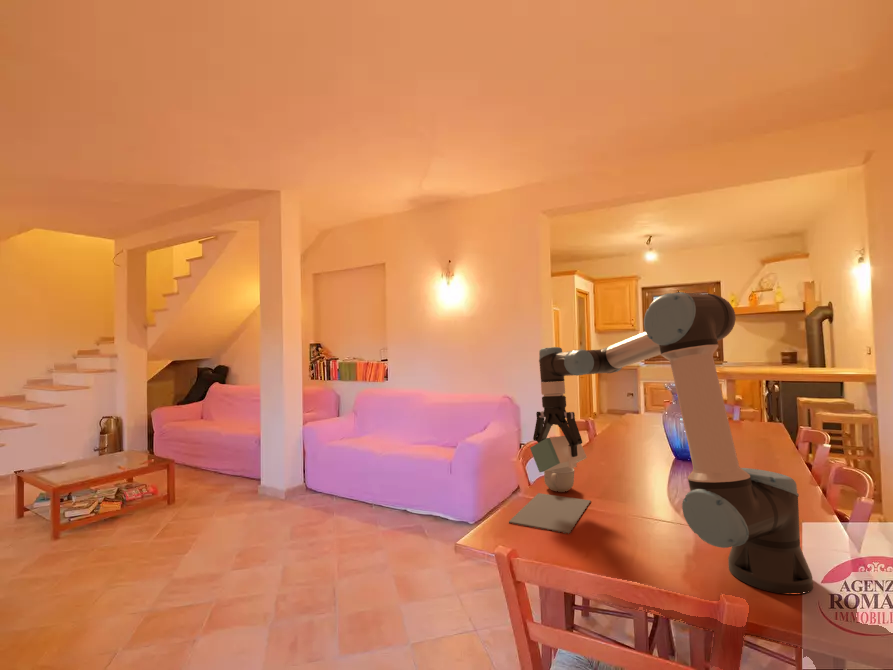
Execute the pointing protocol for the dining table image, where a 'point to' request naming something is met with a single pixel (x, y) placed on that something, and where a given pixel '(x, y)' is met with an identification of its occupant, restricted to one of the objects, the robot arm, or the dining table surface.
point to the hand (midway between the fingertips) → (558, 465)
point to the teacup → (559, 479)
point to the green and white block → (554, 453)
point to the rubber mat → (551, 512)
